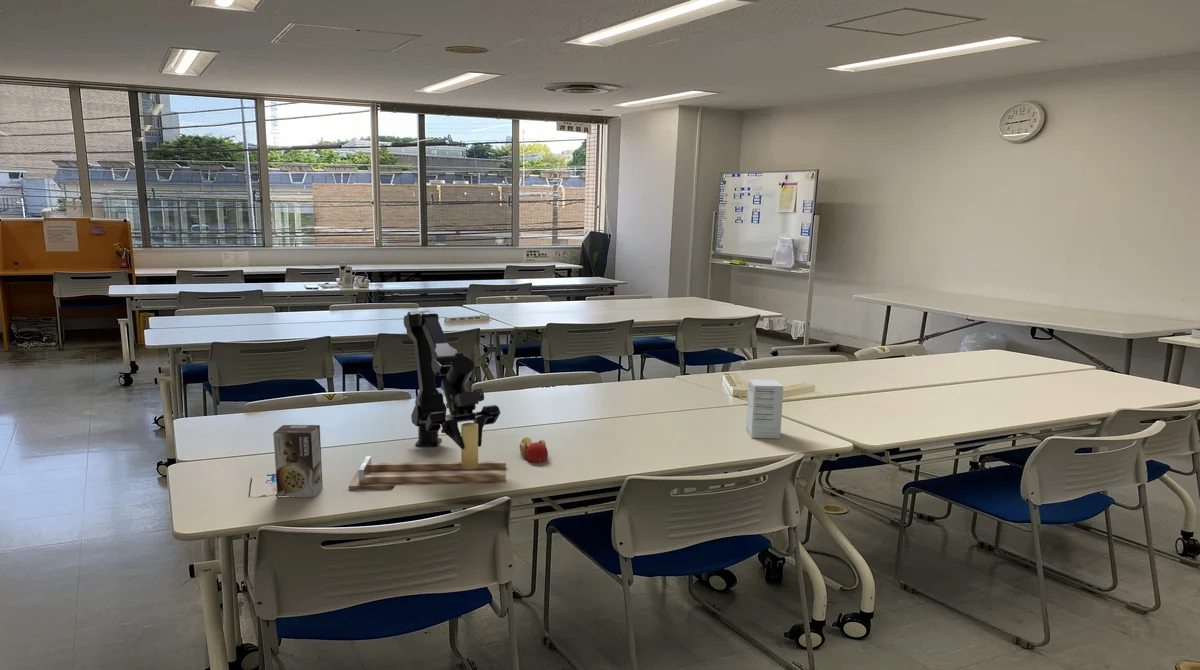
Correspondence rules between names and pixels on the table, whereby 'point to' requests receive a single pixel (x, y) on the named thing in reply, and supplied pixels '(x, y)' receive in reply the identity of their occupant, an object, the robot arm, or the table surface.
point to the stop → (364, 469)
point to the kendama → (533, 450)
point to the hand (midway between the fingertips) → (471, 447)
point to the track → (429, 474)
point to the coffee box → (298, 460)
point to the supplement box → (764, 409)
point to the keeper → (469, 445)
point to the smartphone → (272, 482)
